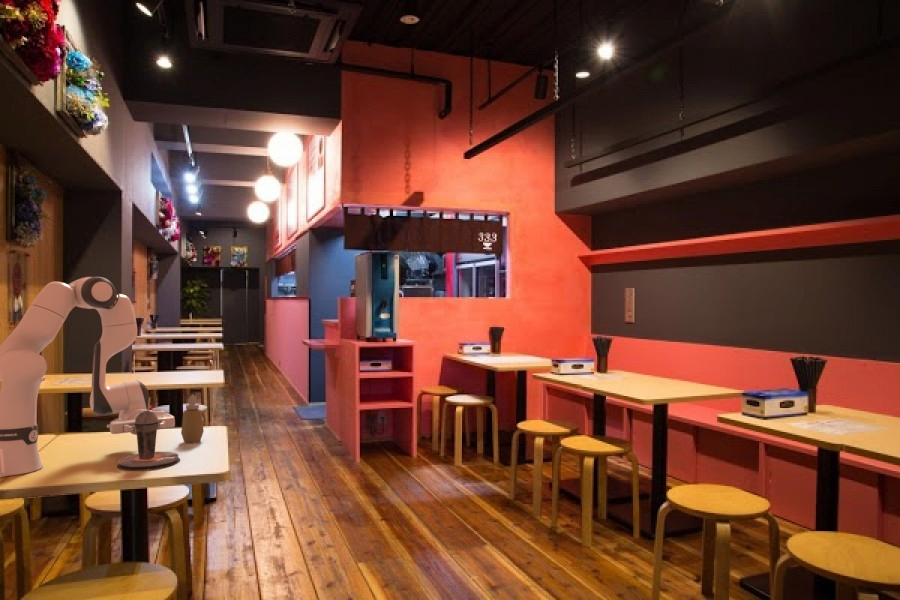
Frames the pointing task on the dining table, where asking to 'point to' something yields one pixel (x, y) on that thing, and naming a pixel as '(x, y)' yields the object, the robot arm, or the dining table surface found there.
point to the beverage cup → (146, 433)
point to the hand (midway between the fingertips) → (147, 427)
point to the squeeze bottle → (192, 422)
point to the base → (148, 468)
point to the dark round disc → (148, 460)
